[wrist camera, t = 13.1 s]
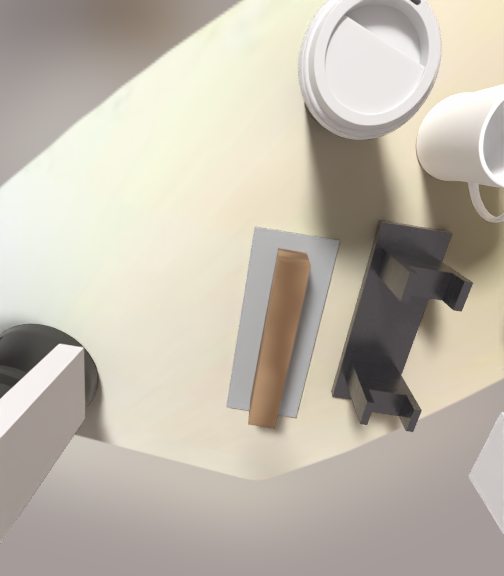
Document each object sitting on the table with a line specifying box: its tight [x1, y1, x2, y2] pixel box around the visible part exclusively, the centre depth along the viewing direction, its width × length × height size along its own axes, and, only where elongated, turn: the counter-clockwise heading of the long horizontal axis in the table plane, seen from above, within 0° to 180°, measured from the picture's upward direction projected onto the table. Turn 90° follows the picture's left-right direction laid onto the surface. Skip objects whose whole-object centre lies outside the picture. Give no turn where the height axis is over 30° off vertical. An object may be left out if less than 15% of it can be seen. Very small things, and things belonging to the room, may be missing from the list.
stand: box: [331, 220, 473, 432], centre depth 42 cm, size 8×24×9 cm, turn 171°
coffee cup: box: [298, 0, 441, 140], centre depth 30 cm, size 10×10×15 cm
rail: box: [248, 248, 311, 428], centre depth 44 cm, size 3×22×5 cm, turn 171°
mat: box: [227, 227, 340, 418], centre depth 47 cm, size 10×26×1 cm, turn 171°
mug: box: [416, 84, 504, 223], centre depth 33 cm, size 12×8×12 cm
